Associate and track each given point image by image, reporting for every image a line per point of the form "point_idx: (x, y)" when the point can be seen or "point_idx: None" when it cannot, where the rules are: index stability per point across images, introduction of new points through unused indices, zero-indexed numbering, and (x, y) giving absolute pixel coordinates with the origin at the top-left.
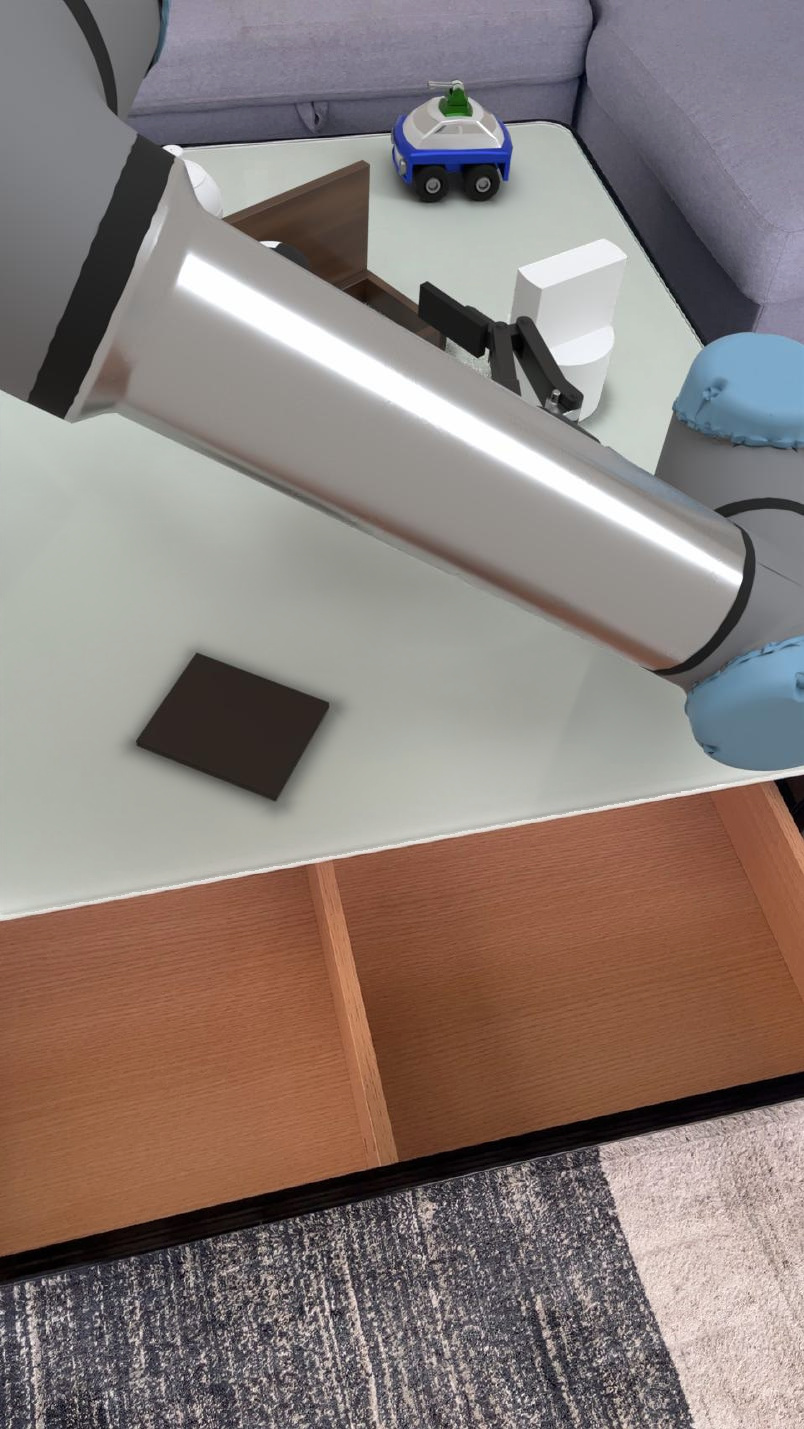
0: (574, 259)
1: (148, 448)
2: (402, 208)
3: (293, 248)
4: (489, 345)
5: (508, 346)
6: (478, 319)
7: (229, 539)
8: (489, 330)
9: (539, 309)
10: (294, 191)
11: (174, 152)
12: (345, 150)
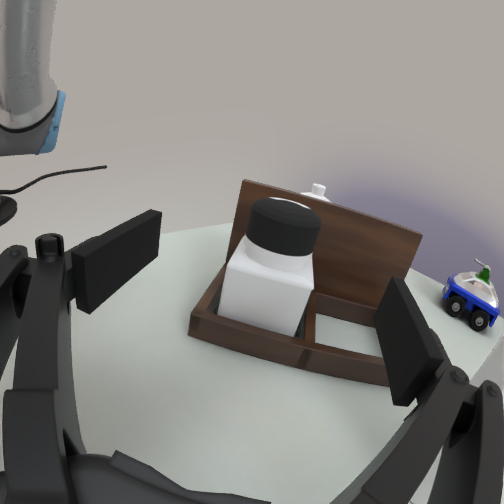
0: None
1: (147, 281)
2: (435, 309)
3: (316, 215)
4: (422, 396)
5: (449, 416)
6: (432, 345)
7: (71, 342)
8: (437, 373)
9: (502, 391)
10: (360, 212)
11: (319, 185)
12: (425, 279)
